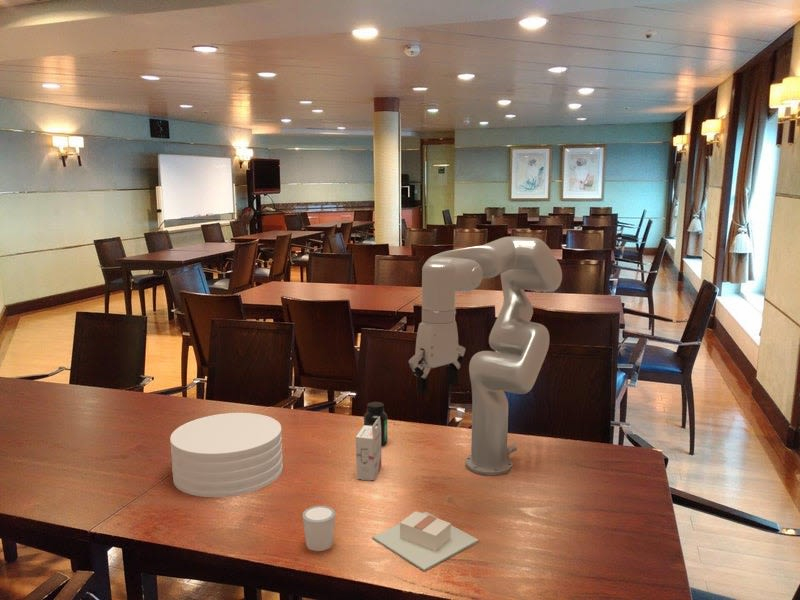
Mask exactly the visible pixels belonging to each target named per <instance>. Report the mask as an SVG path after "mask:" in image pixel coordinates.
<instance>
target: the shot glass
mask: <svg viewBox="0 0 800 600" xmlns="http://www.w3.org/2000/svg"><path fill="white" fill-rule="evenodd" d="M335 519H336V511H335V510H334V508H332V507H330V506H327V505H315V506H310V507H308V508H307V509H305V510H304V511H303V512H302V520H303V521H302V522H303V523H302V524H303V531H304V540H305V545H306V548H307V547H308V548H307V549H308V550H310V551H313V550H314V551H313V552H323V551H327V550H329V549H330V548H331V547H332V546H333V544H334V535H335V534H334V533H335V523H336V522H335V521H336V520H335ZM326 549H327V550H326Z"/></svg>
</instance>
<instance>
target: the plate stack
mask: <svg viewBox="0 0 800 600" xmlns="http://www.w3.org/2000/svg"><path fill="white" fill-rule="evenodd" d="M282 437H283V436H282V425H281V423H280V422H279V421H278V420H276V419H275V418H273V417H271V416H267V415H265V414H258V413H252V412H229V413H227V412H226V413H220V414H214V415H212V414H211V415H208V416H204V417H200V418H196V419H194V420H191V421H188V422H186V423H184V424H182V425H180V426H178V427H177V428H176V429H175V430H174V431H172V433H171V435H170V438H169V440H170V452H171V453H170V454H171V469H172V482H173V485H174V487H176V489H177V490H179V491H181V492H183V493H184V494H188V495H191V496H194V497H195V496H196V497H202V498H203V497H204V498H225V497H228V498H229V497H235V496H240V495H244V494H248V493H252V492H255V491H258V490H260V489H262V488H264V487H267V486H269V485H270V484H272V483H273V482H275V481H276V480H277V479H278V478H279V477H280V476H281V475H282V472H283V469H284V465H283V445H282V443H283V440H282V439H283V438H282Z"/></svg>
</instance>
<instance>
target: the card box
mask: <svg viewBox="0 0 800 600" xmlns="http://www.w3.org/2000/svg"><path fill="white" fill-rule="evenodd" d="M423 513H424V512H419V511H416V510H415V511H414V512H412V513H410V515H408V516H406V518H404V519H403V520H402V521H400V522H399V524H400V538H402V539H404V540H407V541H410V542H412V543H415V544H418V545H420V546H423V547H425V548H428V549H431V550H433V551H437V550H438V549H439V548H440V547H441V546H442V545H444V544H445V543H446V542H447V541H448V540H449V539H450V538H451V524H452V523H451V522H449V521H445V520H443V519H441V520H440V518H439V519H437V518H438V517H437V516H435V517H433V516H434V515H433V516H430V515H425V514H423ZM436 517H437V518H436Z"/></svg>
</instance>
